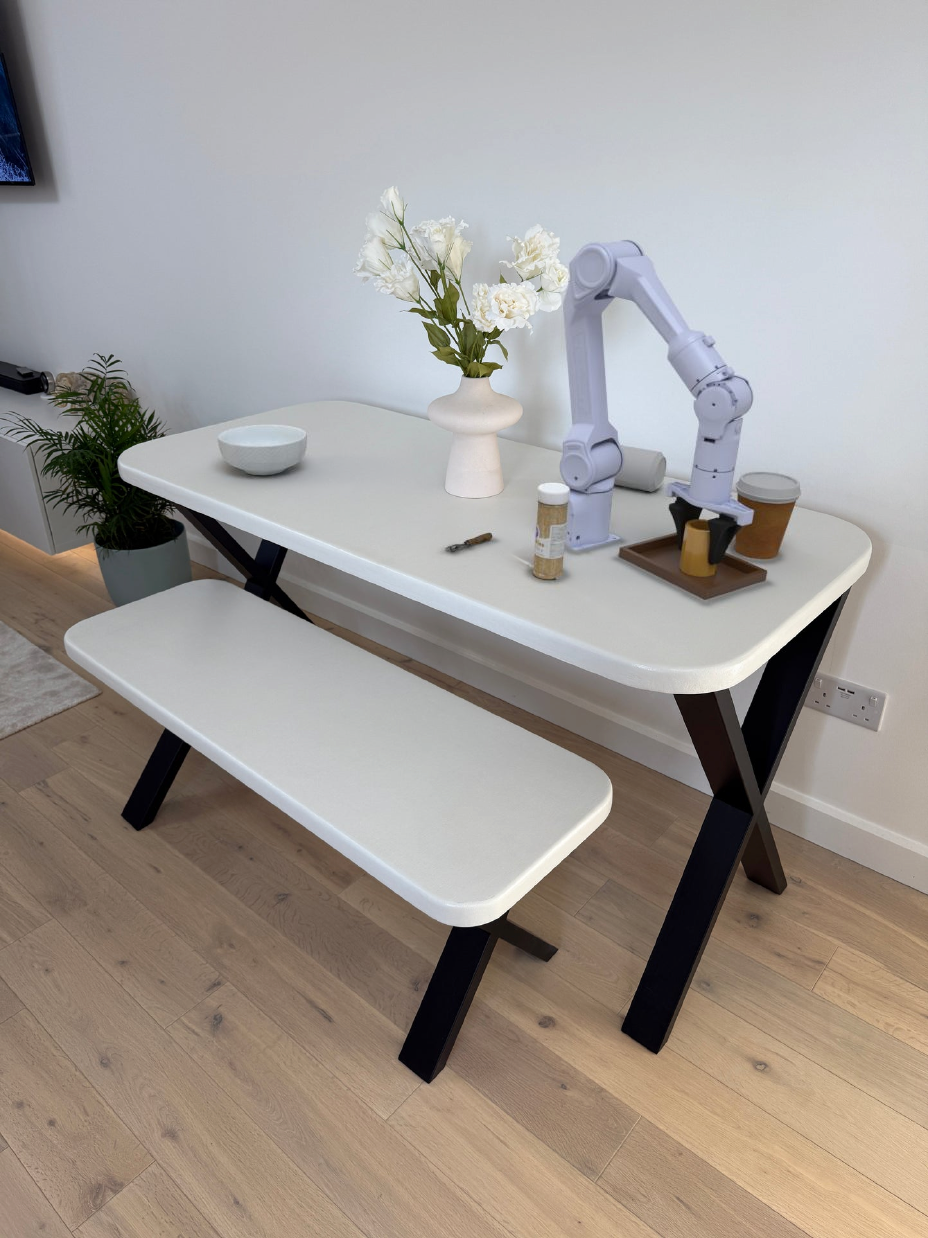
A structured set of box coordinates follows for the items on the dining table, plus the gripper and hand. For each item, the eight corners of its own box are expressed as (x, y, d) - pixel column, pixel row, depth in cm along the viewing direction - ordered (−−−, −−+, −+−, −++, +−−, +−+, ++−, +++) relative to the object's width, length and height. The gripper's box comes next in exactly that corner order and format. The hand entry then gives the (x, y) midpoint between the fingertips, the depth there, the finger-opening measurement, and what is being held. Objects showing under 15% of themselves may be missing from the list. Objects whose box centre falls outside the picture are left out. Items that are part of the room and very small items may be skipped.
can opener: (488, 537, 137) (488, 531, 136) (497, 542, 135) (497, 535, 135) (441, 549, 132) (441, 542, 132) (450, 554, 131) (450, 547, 130)
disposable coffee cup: (755, 570, 127) (770, 494, 122) (711, 548, 135) (723, 475, 129) (801, 559, 131) (817, 485, 126) (756, 538, 139) (769, 467, 133)
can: (667, 443, 156) (606, 433, 162) (652, 471, 153) (590, 459, 158) (668, 474, 162) (610, 463, 167) (654, 501, 158) (594, 489, 164)
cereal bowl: (326, 470, 167) (324, 434, 164) (254, 489, 156) (250, 451, 153) (275, 451, 178) (272, 418, 174) (204, 468, 167) (200, 433, 163)
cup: (698, 579, 123) (705, 534, 120) (672, 567, 127) (678, 523, 124) (723, 572, 126) (730, 527, 122) (696, 559, 129) (703, 516, 126)
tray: (704, 603, 117) (706, 590, 116) (618, 559, 130) (619, 547, 129) (765, 583, 124) (767, 570, 123) (676, 543, 137) (678, 531, 136)
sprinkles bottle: (527, 570, 126) (532, 483, 120) (554, 566, 128) (560, 479, 122) (541, 582, 122) (547, 493, 116) (569, 578, 124) (576, 489, 118)
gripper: (774, 475, 116) (757, 567, 122) (695, 449, 126) (682, 534, 133) (739, 484, 112) (723, 577, 118) (660, 456, 123) (649, 543, 129)
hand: (699, 555), depth 125 cm, fingers open, 5 cm apart
